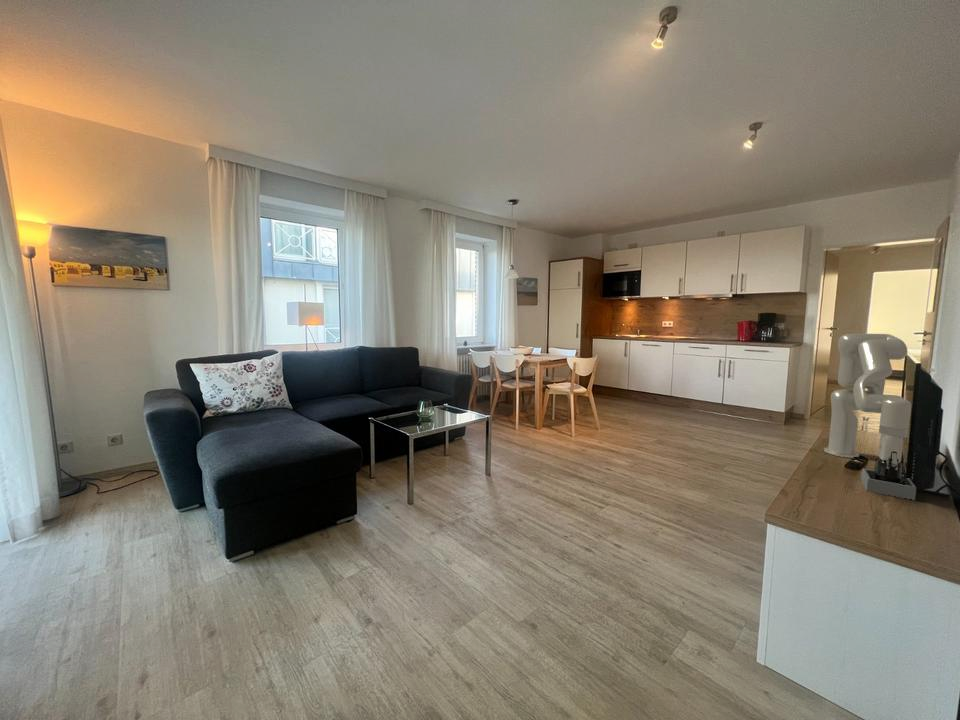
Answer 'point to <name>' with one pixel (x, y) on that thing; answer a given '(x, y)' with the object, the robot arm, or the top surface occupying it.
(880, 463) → the supplement bottle
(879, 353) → the robot arm
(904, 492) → the bin
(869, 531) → the top surface
